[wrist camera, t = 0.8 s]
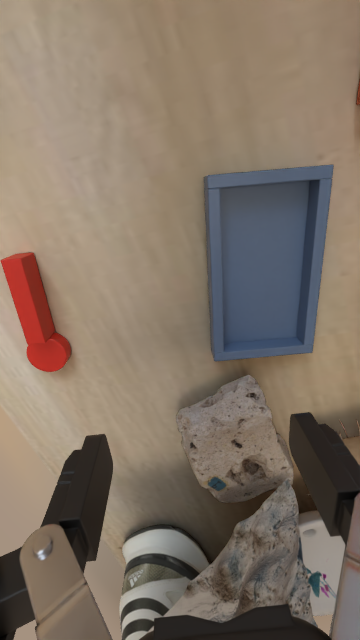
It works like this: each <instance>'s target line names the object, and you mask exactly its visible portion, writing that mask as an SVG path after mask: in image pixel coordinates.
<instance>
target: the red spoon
mask: <svg viewBox="0 0 360 640" xmlns="http://www.w3.org/2000/svg"><path fill="white" fill-rule="evenodd" d="M1 263H2V266H3V270H4V273H5V276H6V279H7V282H8V285H9V288H10V291H11V294H12V298H13V301H14V304H15V307H16V310H17V313H18V316H19V319H20V322H21V326H22V329H23V332H24V335H25V338H26V341H27V344H28V347H27V357H28V359H29V361H30V363H31V364H32V365H33V366H34V367H36V368H37V369H39V370H42V371H46V372H53V371H57V370H59V369H61V368H62V367H63V366H64V365H65V364H66V362H67V360H68V359H69V357H70V354H71V348H70V344H69V342H68V341H67V340H66V339H65V338H64V337H63V336H62V335H60V334H58V333H55V329H54V325H53V321H52V318H51V314H50V310H49V307H48V303H47V299H46V296H45V292H44V289H43V285H42V281H41V278H40V274H39V270H38V267H37V263H36V259H35V256H34V253H22V254H15V255H12V256H10V257H7V258H5V259H2V260H1Z"/></svg>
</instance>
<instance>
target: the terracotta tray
mask: <svg viewBox="0 0 360 640" xmlns="http://www.w3.org/2000/svg"><path fill="white" fill-rule="evenodd" d="M356 104H357V105H360V80H359V88H358V96H357V103H356Z"/></svg>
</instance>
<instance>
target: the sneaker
mask: <svg viewBox="0 0 360 640" xmlns="http://www.w3.org/2000/svg"><path fill="white" fill-rule="evenodd" d="M122 553H123V556H124V558H125V561H126V570H125V575H124V582H123V588H122V596H121V598H120V623H121V632H122V640H139V639H140V638H141V637H143V636H144V635H145V634H146V633H147V632H148V631H149V630H150V629H151V628H152V627H153V626H154V618H160V617H163V616H164V615H165V614H166V613H167V612H168V611H169V610H170V609H171V608H172V607H173V606H174V605H175V604H176V602H177V601H178V600H179V599H180V598H181V597H182V596H183V594H184V592H185V591H186V588H187V585H188V583H189V582H190V581H192V580H193V579H195V578H196V577H197V576H198V575H199V574H200V573H201V572H202V571H204V570H205V569H206V568H207V567H208V566H209V563H208V561H207V559H206V556H205V554H204V552H203V550H202V549H201V547H200V546H199V545H198V543H197V542H196V541H195V540H194V539H193V538H192V537H191V536H190V535H189V534H187V533H186V532H185V531H183V530H181V529H179V528H175V529H173V528H172V527H171V526H170V525H168V526H167V525H156V526H150V527H147V528H144V529H142V530H139V531H137V532H135V533H133V534H131V535H130V536H129V537H128V538H127V539H126V540H125V542H124V545H123V549H122Z"/></svg>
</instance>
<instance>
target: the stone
mask: <svg viewBox="0 0 360 640" xmlns="http://www.w3.org/2000/svg"><path fill="white" fill-rule="evenodd" d="M271 419H272V415H271V409H270V408H269V407H268V406H267V405H266V399H265V397H264V394H263V392H262V390H261V388H260V386H259V385H258V383H257V381H256V379H254V378H253V377H251V376H250V375H247V376H244V377H241V378H239V379H237V380H235V381H232V382H230V383H227V384H225V385H223V386H222V387H220V388H219V390H218V391H217V393H216V394H215V395H214V396H213V395H212V396H209V397H207V398H205V399H204V400H202V401H200V402H198V403H196V404H194V405H191V406H188V407H185V408H183V409H180V410H179V412H178V414H177V415H176V422H177V425H178V430H179V432H181V433H182V437H183V440H182V442H181V444H182V446H183V449H184V451H185V453H186V455H187V457H188V460H189V463H190V466H191V468H192V470H193V472H194V474H195V476H196V478H197V480H198V482H199V483H200V485H201V486H202V487H204V488H207V489H208V490H209V491H210V492H211V493H212V494H213V496H214V497H215V498H216V499H217V500H218V501H220V502H223V503H231V502H244V501H247V500H249V499H251V498H253V497H255V496H257V495H259V494H261V493H264V492H266V491H269V490H272V489H275V488H278V487H279V486H280V485H281V484H282V483H283V482H284V481H286V480H288V482H289V483H290V485H292V484H293V481H294V480H293V464H292V461H291V458H290V455H289V451H288V448H287V445H286V443H285V441H284V440H283V439H282V438H281V436H280V435H279V434H276V431H275V428H274V425H273V424H272V421H271Z"/></svg>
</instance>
